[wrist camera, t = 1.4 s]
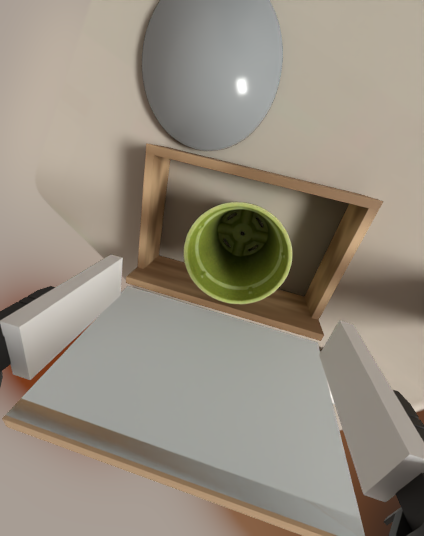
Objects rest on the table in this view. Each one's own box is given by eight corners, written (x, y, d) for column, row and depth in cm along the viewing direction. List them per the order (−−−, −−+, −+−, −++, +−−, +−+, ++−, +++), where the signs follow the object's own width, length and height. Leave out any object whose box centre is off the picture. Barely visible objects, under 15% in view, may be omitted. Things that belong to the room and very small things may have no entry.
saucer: (153, -38, 19) (148, -47, 18) (305, -11, 18) (307, -19, 17) (142, 135, 25) (137, 134, 24) (256, 163, 24) (256, 163, 23)
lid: (2, 418, 13) (6, 426, 14) (368, 552, 11) (358, 555, 12) (127, 285, 25) (127, 292, 25) (317, 342, 23) (313, 348, 24)
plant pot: (189, 222, 28) (162, 245, 20) (253, 172, 25) (250, 176, 17) (233, 279, 30) (224, 319, 23) (298, 241, 27) (314, 273, 19)
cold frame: (164, 146, 25) (132, 141, 19) (362, 194, 23) (399, 206, 17) (152, 258, 31) (126, 282, 25) (308, 303, 30) (320, 340, 23)
